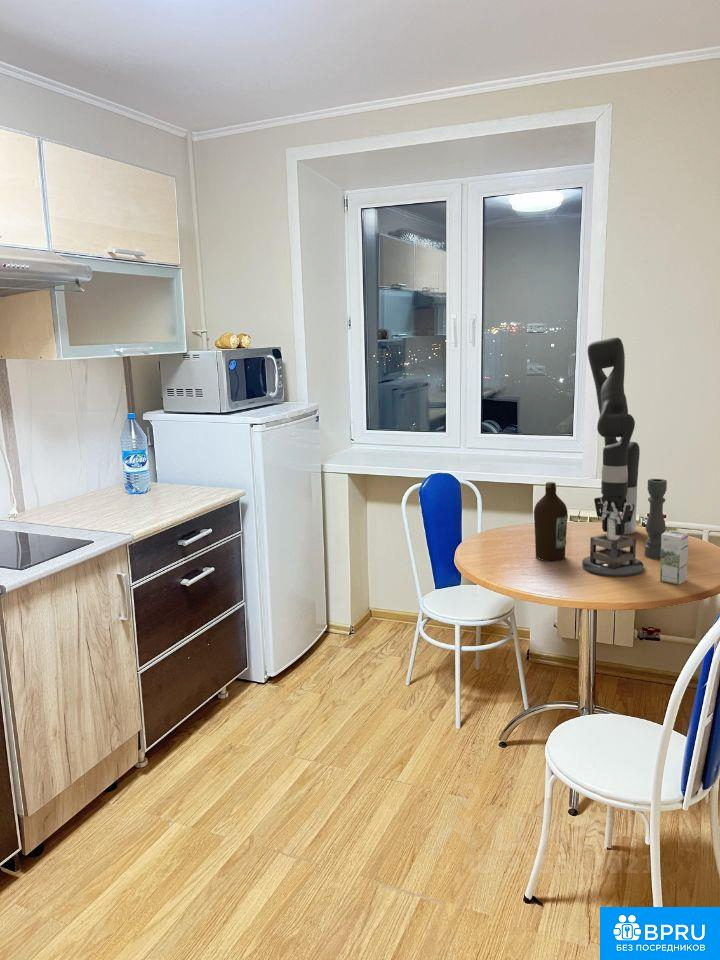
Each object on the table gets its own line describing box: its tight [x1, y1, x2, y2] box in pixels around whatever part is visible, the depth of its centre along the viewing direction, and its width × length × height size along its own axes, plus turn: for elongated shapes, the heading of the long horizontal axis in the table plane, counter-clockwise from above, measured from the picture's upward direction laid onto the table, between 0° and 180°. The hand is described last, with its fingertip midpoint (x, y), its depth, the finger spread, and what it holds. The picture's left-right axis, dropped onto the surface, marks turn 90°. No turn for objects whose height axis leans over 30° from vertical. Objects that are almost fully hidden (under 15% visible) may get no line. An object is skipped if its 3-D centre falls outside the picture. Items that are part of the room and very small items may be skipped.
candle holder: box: [644, 478, 668, 560], centre depth 230 cm, size 6×6×25 cm
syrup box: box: [659, 529, 689, 586], centre depth 208 cm, size 6×6×14 cm
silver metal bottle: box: [606, 517, 620, 564], centre depth 222 cm, size 4×4×14 cm
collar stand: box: [581, 533, 644, 578], centre depth 222 cm, size 18×18×10 cm
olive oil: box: [533, 481, 568, 562], centre depth 234 cm, size 11×11×25 cm
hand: (613, 533), depth 221 cm, fingers open, 4 cm apart
